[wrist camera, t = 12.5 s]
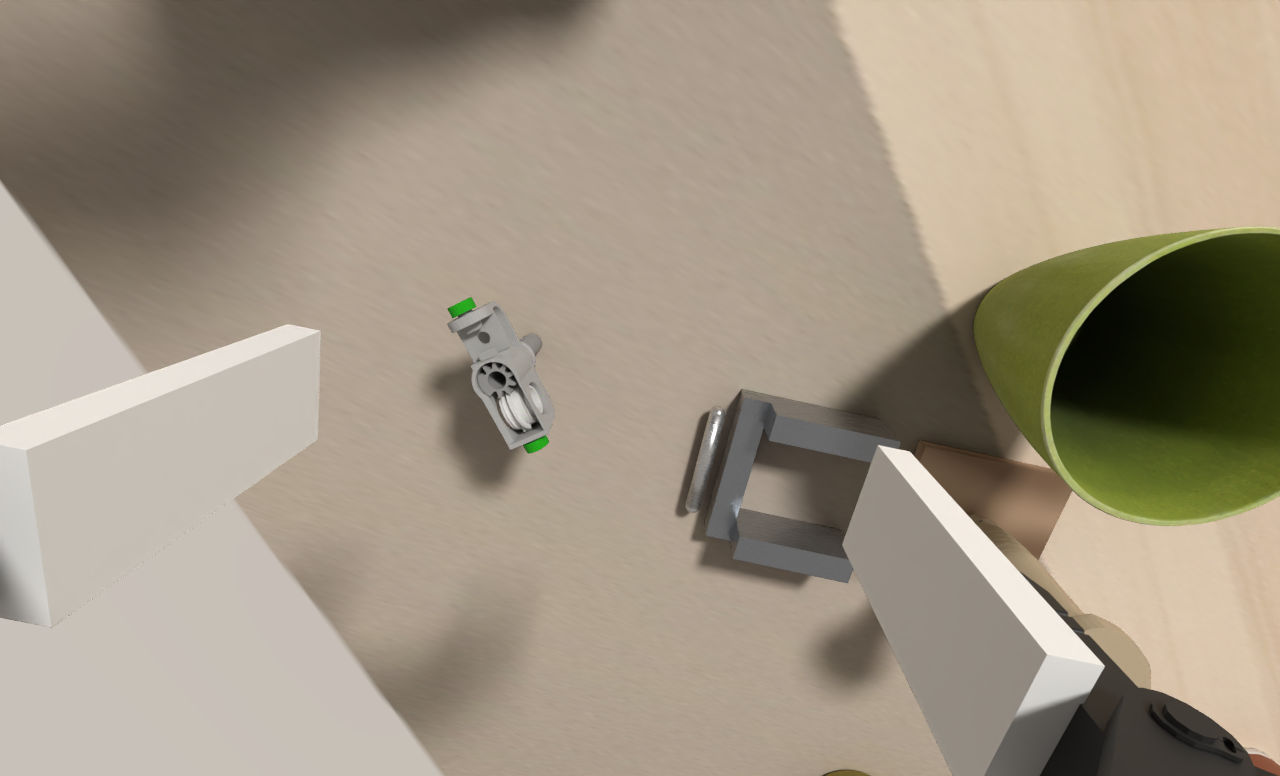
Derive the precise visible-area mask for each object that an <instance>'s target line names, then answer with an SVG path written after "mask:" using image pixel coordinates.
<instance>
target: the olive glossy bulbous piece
mask: <svg viewBox="0 0 1280 776" xmlns="http://www.w3.org/2000/svg"><path fill="white" fill-rule="evenodd" d="M825 776H870V775H868V774H866V773H863V772H859V771H853V770H842V771H836V772H833V773H830V774H827V775H825Z"/></svg>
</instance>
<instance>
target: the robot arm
mask: <svg viewBox="0 0 1280 776" xmlns="http://www.w3.org/2000/svg"><path fill="white" fill-rule="evenodd" d="M320 343H321V331H319V330H314V329H309V328H304V327H299V326H294V325H289V324H287V325H284V326H281V327H278V328H275V329H273V330H270V331H267V332H264V333H261V334H258V335H256V336H253V337H250V338H247V339H244V340H241V341H239V342H236V343H233V344H230V345H227V346H224V347H221V348H219V349H216V350H213V351H210V352H207V353H204V354H202V355H199V356H196V357H193V358H190V359H187V360H185V361H182V362H179V363H176V364H173V365H170V366H168V367H165V368H162V369H159V370H156V371H153V372H150V373H148V374H145V375H142V376H139V377H136V378H134V379H131V380H128V381H125V382H122V383H119V384H117V385H114V386H111V387H108V388H105V389H102V390H99V391H97V392H94V393H91V394H88V395H85V396H82V397H79V398H77V399H74V400H71V401H69V402H65V403H63V404H60V405H57V406H54V407H51V408H48V409H46V410H43V411H40V412H37V413H34V414H31V415H28V416H25V417H23V418H20V419H17V420H14V421H12V422H9V423H6V424H3V425H0V618H5V619H10V620H15V621H21V622H26V623H31V624H36V625H41V626H46V627H53V626H55V625H56V624H57V623H59V622H60V621H62V620H63V619H64V618H66V617H67V616H69V615H70V614H71V613H73V612H74V611H76V610H77V609H78V608H80V607H81V606H83V605H84V604H86V603H87V602H88V601H90V600H91V599H93V598H94V597H95V596H97V595H98V594H100V593H101V592H102V591H104V590H105V589H107V588H108V587H110V586H111V585H112V584H114V583H115V582H116V581H118V580H119V579H121V578H122V577H124V576H125V575H126V574H128V573H129V572H131V571H132V570H134V569H135V568H136V567H138V566H139V565H141V564H142V563H144V562H145V561H146V560H148V559H149V558H151V557H152V556H153V555H155V554H156V553H158V552H159V551H161V550H162V549H163V548H165V547H166V546H167V545H169V544H170V543H172V542H173V541H175V540H176V539H177V538H179V537H180V536H182V535H183V534H185V533H186V532H187V531H189V530H190V529H191V528H193V527H194V526H196V525H197V524H199V523H200V522H202V521H203V520H204V519H206V518H207V517H209V516H210V515H211V514H213V513H214V512H216V511H217V510H218V509H220V508H221V507H223V506H224V505H225V504H227V503H228V502H230V501H231V500H233V499H234V498H235V497H237V496H238V495H240V494H241V493H243V492H244V491H245V490H247V489H248V488H250V487H251V486H252V485H254V484H255V483H257V482H258V481H259V480H261V479H262V478H264V477H265V476H267V475H268V474H269V473H271V472H272V471H274V470H275V469H276V468H278V467H279V466H281V465H282V464H283V463H285V462H286V461H288V460H289V459H291V458H292V457H293V456H295V455H296V454H298V453H299V452H300V451H302V450H303V449H305V448H306V447H308V446H309V445H310V444H312V443H313V442H315V441H316V440H317V439H318V414H319V379H320ZM842 546H843V548H844V550H845V552H846V554H847V556H848V559H849V561H850V563H851V565H852V567H853V569H854V571H855V573H856V575H857V577H858V579H859V581H860V584H861V586H862V588H863V590H864V592H865V594H866V596H867V598H868V600H869V602H870V604H871V606H872V609H873V611H874V613H875V615H876V617H877V619H878V621H879V623H880V625H881V627H882V629H883V631H884V634H885V636H886V638H887V640H888V642H889V644H890V646H891V648H892V650H893V652H894V654H895V656H896V659H897V661H898V663H899V665H900V667H901V669H902V671H903V673H904V675H905V677H906V679H907V681H908V683H909V686H910V688H911V690H912V692H913V694H914V696H915V698H916V700H917V702H918V704H919V706H920V708H921V711H922V713H923V715H924V717H925V719H926V721H927V723H928V725H929V727H930V729H931V731H932V733H933V736H934V738H935V740H936V742H937V744H938V746H939V748H940V750H941V752H942V754H943V756H944V758H945V761H946V763H947V765H948V767H949V769H950V771H951V773H952V775H953V776H1278V775H1275V774H1273V773H1270V772H1268V771H1265V770H1263V769H1261V768H1258V767H1256V766H1254V764H1253V762H1252V760H1251V758H1250V756H1249V754H1248V752H1247V751H1246V750H1245V749H1244V748H1243V747H1242V746H1241V745H1240V743H1239V742H1238V741H1237V740H1236V739H1235V738H1234V737H1233V736H1232V735H1231V734H1230V733H1228V732H1227V731H1226V730H1225V729H1223V728H1222V727H1221V726H1220V725H1218V724H1217V723H1216V722H1214V721H1213V720H1212V719H1211V718H1209V717H1208V716H1206V715H1204V714H1203V713H1201V712H1199V711H1198V710H1196V709H1194V708H1193V707H1191V706H1190V705H1188V704H1186V703H1184V702H1182V701H1180V700H1178V699H1175V698H1173V697H1171V696H1169V695H1167V694H1164V693H1162V692H1158V691H1154V690H1151V689H1147V688H1138V687H1137V686H1136V685H1135V684H1134V682H1133V681H1132V680H1131V679H1130V678H1129V677H1128V676H1127V675H1126V674H1125V673H1124V672H1123V671H1122V670H1121V669H1120V668H1119V666H1118V665H1117V664H1116V663H1115V662H1114V661H1113V660H1112V659H1111V658H1110V657H1109V656H1108V655H1107V654H1106V653H1105V652H1104V650H1103V649H1102V648H1101V647H1100V646H1099V645H1098V644H1097V643H1096V642H1095V641H1094V640H1093V639H1092V638H1091V637H1090V636H1089V635H1087V634H1085V633H1084V632H1085V630H1084V629H1083V628H1082V627H1081V626H1080V625H1079V624H1078V623H1077V622H1076V621H1075V620H1074V618H1073V617H1069V616H1068V612H1067V611H1066V610H1065V609H1064V608H1063V607H1062V606H1061V605H1060V604H1059V602H1058V601H1057V600H1056V599H1055V598H1054V597H1053V596H1052V595H1051V594H1050V593H1049V592H1048V591H1047V590H1045V589H1044V588H1042V587H1041V586H1040V585H1038V584H1037V583H1036V582H1034V581H1033V580H1031V579H1030V578H1029V577H1027V576H1026V575H1025V574H1023V573H1022V572H1019V571H1018V570H1017V569H1016V568H1015V567H1014V566H1013V564H1012V563H1011V562H1010V561H1009V560H1008V559H1007V558H1006V557H1005V556H1004V555H1003V553H1002V552H1001V551H1000V550H999V549H998V548H997V547H996V546H995V545H994V544H993V542H992V541H991V540H990V539H989V538H988V537H987V536H986V535H985V534H984V533H983V531H982V530H981V529H980V528H979V527H978V526H977V525H976V524H975V523H974V522H973V520H972V519H971V518H970V517H969V516H968V515H967V514H966V513H965V512H964V511H963V509H962V508H961V507H960V506H959V505H958V504H957V503H956V502H955V501H954V500H953V498H952V497H951V496H950V495H949V494H948V493H947V492H946V491H945V490H944V489H943V488H942V486H941V485H940V484H939V483H938V482H937V481H936V480H935V479H934V478H933V477H932V475H931V474H930V473H929V472H928V471H927V470H926V469H925V468H924V467H923V466H922V464H921V463H920V462H919V461H918V460H917V459H916V458H915V457H914V456H913V455H912V453H911V452H910V451H905V450H900V449H895V448H890V447H885V446H880V445H878V446H877V449H876V451H875V454H874V457H873V460H872V463H871V465H870V468H869V471H868V474H867V477H866V479H865V482H864V485H863V488H862V491H861V493H860V496H859V499H858V502H857V505H856V507H855V510H854V513H853V516H852V519H851V521H850V524H849V527H848V530H847V533H846V535H845V538H844V541H843V544H842Z"/></svg>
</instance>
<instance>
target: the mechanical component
mask: <svg viewBox="0 0 1280 776" xmlns="http://www.w3.org/2000/svg"><path fill="white" fill-rule="evenodd" d="M475 307H476V305H475V303H474V301H473V299H472V298H471V297H470V298H468V299H466V300H464V301H462V302H460V303H458V304H456V305H454V306H452V307H450V308H448V311H449V312H450V314H451V316H452V318H454V317H456V316H458V317H459V318H456V319H455V320H453V321H451V322H449V323H448V324H447V325H448V327H449V328H450V330H451V332H452V333H454V332H456V331H457V333H458V334H459V336H460V338H461V340H462V342H463V343H464V345H465V347H466V349H467V351H468V352H469V354H470V356H471V358H472V360H473V361H474V363H473V364H472V365H471V368H472V370H473V373H472V379H471V380H472V386H473V389H474V391H475V393H476V394H477V395H478V396H479V397H480V398H481V399H482V400H483V402H484V404H485V406H486V408H487V409H488V411H489V413H490V415H491V416H492V418H493V420H494V422H495V424H496V425H497V427H498V429H499V431H500V432H501V434H502V436H503V438H504V440H505V441H506V443H507V445H508V447H509V448H510V450H512V449H514V448H516V447H519V446H521V445H523V446H524V448H525V449H526V451H527V453H533V452H536V451H538V450H540V449H542V448H543V447H545V446H546V445H547V444H548V443H549V440H548V438H547V436H546V435H547V434H548V433H549V431H550V429H551V427H552V425H553V424H552V421H553V419H554V417H555V411H554V407H553V404H552V401H551V399H550V397H549V395H548V393H547V391H546V389H545V387H544V385H543V383H542V382H541V380H540V378H539V376H538V374H537V372H536V370H535V368H534V366H535V362H536V359H535V355H536V354H537V352H538V351H539V350H540V348H541V346H542V341H541V339H540V337H539V336H538V335H536V334H529V335H528V336H524V337H523V338H521V339H520V340H519V338H518V336H517V334H516V332H515V330H514V329H513V327H512V325H511V323H510V321H509V319H508V317H507V315H506V313H505V312H504V310H503V309H502V307H501V306H500V305H499V304H498V303H497V302H495V301H492V302H490V303H488V304H486V305H484V306H482V307H480V308H477V309H475V310H473V311H472V309H473V308H475ZM497 398H498V399H499V407H500V410H501V413H502V415H503V417H504V419H505V420H506V421H507V423H508V424H509V425H510V426H511V428H509V427H508V426H507V425H506V424H505V423H504V422H503V420H502V419H501V417H500V415H499V412H498V409H497V404H496V400H497Z"/></svg>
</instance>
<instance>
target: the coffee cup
mask: <svg viewBox="0 0 1280 776" xmlns="http://www.w3.org/2000/svg"><path fill="white" fill-rule="evenodd" d="M1244 749H1245V750H1246V751H1247V752H1248V754H1249V756H1250V758H1251V760H1252V762H1253V764H1254V766H1256V767H1258V768H1261V769H1263V770H1265V771H1268V772H1270V773H1273V774H1275V775H1278V776H1280V766H1279V765H1278V764H1277V763H1275V762H1274V761H1273V760H1272V759H1271V758H1270V757H1269V756H1267V755H1266V754H1265V753H1264V752H1261V751H1259V750H1256V749H1254V748H1244Z"/></svg>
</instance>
